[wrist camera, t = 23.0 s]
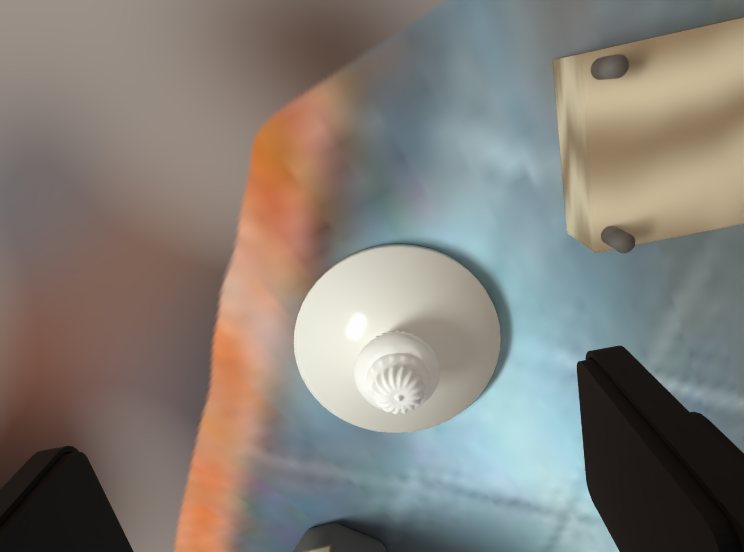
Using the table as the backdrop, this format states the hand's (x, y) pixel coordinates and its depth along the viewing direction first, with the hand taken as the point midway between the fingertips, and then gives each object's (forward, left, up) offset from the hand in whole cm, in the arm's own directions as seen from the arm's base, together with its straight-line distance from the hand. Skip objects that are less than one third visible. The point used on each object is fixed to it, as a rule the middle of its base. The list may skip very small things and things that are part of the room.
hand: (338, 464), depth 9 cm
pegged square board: (0, -20, -28) cm, 35 cm away
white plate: (-12, 0, -28) cm, 31 cm away
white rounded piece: (-12, 0, -27) cm, 30 cm away
